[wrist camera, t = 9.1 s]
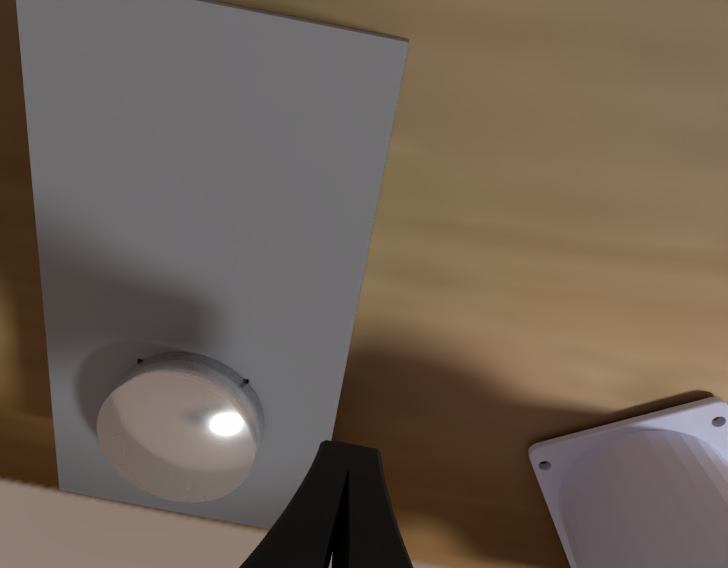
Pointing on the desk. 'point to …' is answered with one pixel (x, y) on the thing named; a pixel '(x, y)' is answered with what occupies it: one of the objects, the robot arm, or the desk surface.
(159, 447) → the headed pin
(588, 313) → the desk surface
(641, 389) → the desk surface
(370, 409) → the desk surface
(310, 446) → the grey flat block
